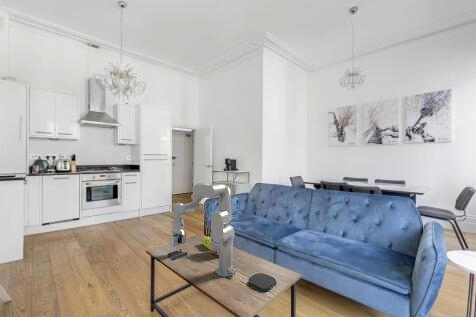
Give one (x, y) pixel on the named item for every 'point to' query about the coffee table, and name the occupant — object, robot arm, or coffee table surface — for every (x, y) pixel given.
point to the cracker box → (213, 246)
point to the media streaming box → (262, 282)
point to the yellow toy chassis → (206, 242)
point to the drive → (175, 239)
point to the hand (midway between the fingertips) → (177, 241)
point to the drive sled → (177, 254)
